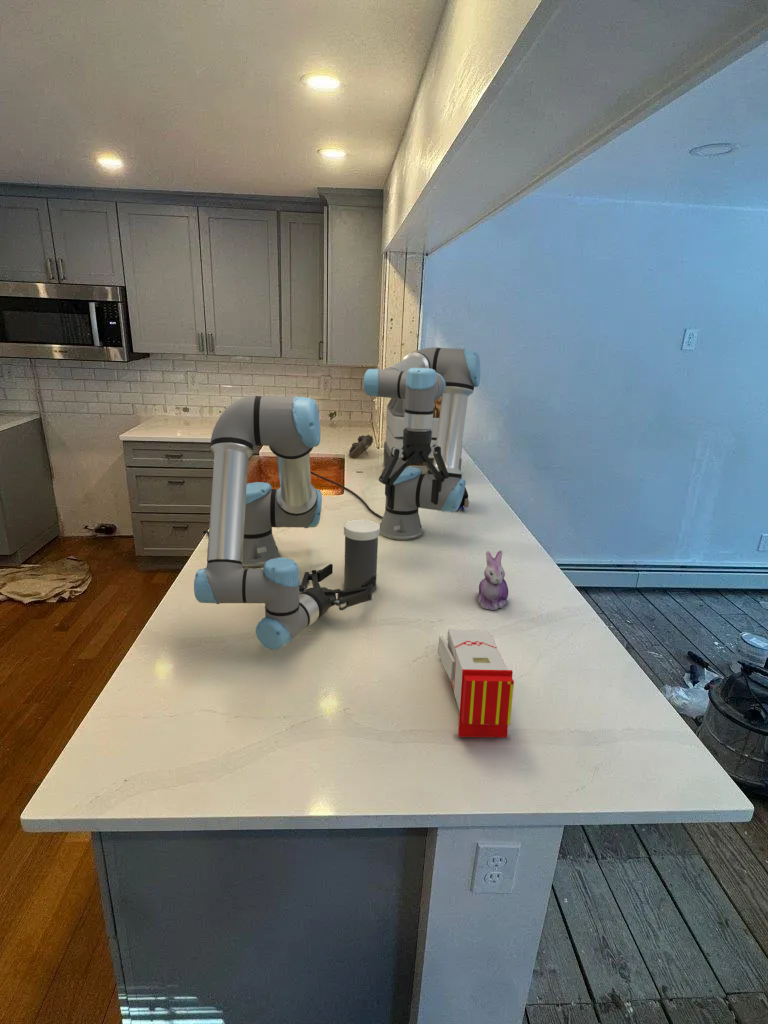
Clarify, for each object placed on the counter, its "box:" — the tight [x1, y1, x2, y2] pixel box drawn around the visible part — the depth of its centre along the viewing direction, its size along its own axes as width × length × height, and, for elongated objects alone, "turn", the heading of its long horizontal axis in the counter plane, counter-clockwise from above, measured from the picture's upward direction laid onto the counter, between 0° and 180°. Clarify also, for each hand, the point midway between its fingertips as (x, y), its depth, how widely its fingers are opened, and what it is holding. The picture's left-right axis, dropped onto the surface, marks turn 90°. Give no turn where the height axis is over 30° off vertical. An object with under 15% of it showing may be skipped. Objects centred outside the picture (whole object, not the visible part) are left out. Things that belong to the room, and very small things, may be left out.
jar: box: [343, 535, 379, 594], centre depth 157 cm, size 9×9×18 cm
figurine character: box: [455, 486, 470, 512], centre depth 229 cm, size 7×8×15 cm
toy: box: [437, 628, 515, 738], centre depth 117 cm, size 12×13×30 cm
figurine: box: [477, 549, 509, 611], centre depth 153 cm, size 9×10×15 cm
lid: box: [343, 519, 381, 541], centre depth 154 cm, size 10×10×2 cm
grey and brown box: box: [383, 396, 465, 472], centre depth 268 cm, size 34×33×41 cm
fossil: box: [348, 434, 374, 459], centre depth 303 cm, size 22×10×15 cm
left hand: (352, 574), depth 154 cm, fingers open, 13 cm apart
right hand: (412, 505), depth 156 cm, fingers open, 13 cm apart
